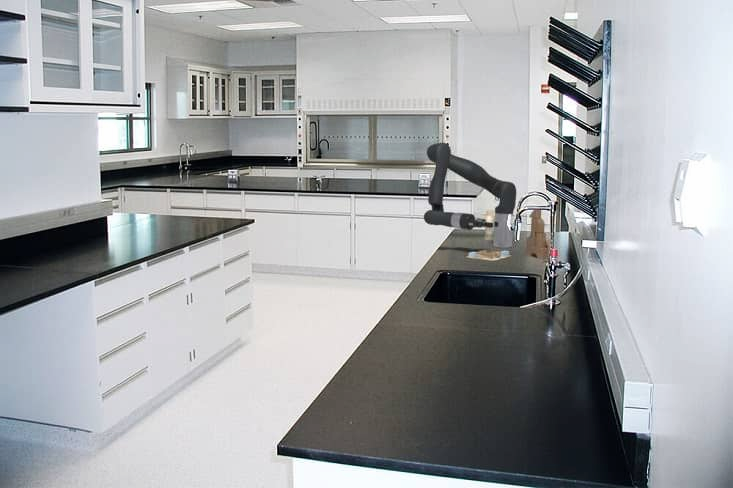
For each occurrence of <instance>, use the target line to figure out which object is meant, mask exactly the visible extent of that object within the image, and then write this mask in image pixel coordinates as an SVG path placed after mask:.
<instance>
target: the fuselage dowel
mask: <svg viewBox="0 0 733 488" xmlns="http://www.w3.org/2000/svg"><path fill="white" fill-rule="evenodd" d="M485 219H486V222H490V223H493V228H489V227H484V240H485V241H494V221H495V210H485Z"/></svg>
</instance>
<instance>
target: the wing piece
mask: <svg viewBox="0 0 733 488" xmlns="http://www.w3.org/2000/svg"><path fill="white" fill-rule="evenodd" d="M500 252H501V257H506V256H509V255H510V251H509V250H502V251H500ZM506 258H507V257H506Z"/></svg>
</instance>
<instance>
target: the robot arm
mask: <svg viewBox="0 0 733 488" xmlns="http://www.w3.org/2000/svg"><path fill="white" fill-rule="evenodd" d="M426 156H427V157H428V159H429V160H430V161H431V162H432V163H433V164H434V163H435V168H434V173H433V176H432V179H431V181H430V185H429V189H428V197H427V198H428V199H427V200H428V201H427V202H428V204H429V205H430V206H431V209H429V210H427V211H426V212H424V213H423V220H424V222H425V223H426V224H428V225H430V226H431V225H432V226H443V227H449V228H453V229H454V228H455V229H457V230H466V231H467V230H468V231H473V229H474V228H485V227H489V228H493V223H490V222H486V218H480V217H477V218H476V217H475V215H474V214H473V213H466V212H453V211H445V210H444V191H445V190H444V189H445V182H446V177H447V172H448V170H450V171H451V172H453V173H455V174H457V175H458V176H459V177H461V178H463V179H464V180H466V181H468V182H470V183H471V184H473V185H475V186H477V187H480V188H482V189H484V190H486V191H487V192H488V193H490V194H491V195H493V196H494V197H496V198H497V199H499V203H498V205H496V207H494V211H495V221H494V239H493V247H496V248H501V249H502V248H503V249H504V248H505V249H507V248H508V249H509V248H512V246H513V234H514V233H513V232H514V230H513V231H510V230H509V228H508V226H507V220H508V215H509V214H511V215H513V216H514V210H515V208H516V203H517V202H516V201H517V188H516V187H517V186H516V185H515V184H514V182H512V181H507V180H500V179H498V178H495V177H494V176H492V175H491V174H489V173H488V172H487V170H486V169H485V168H483V167H482V165H479V164H478V163H476V162H474V161H472V160H469V159H467V158H463V157H460V156H457V155H454V154H453V153H452V149H451V147H450V145H449V144H448V143H446V142H438V143H432V144H431V145H430V146H428V148H427V150H426Z"/></svg>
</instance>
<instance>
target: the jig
mask: <svg viewBox="0 0 733 488" xmlns="http://www.w3.org/2000/svg"><path fill="white" fill-rule="evenodd" d="M476 252H477V257H475V258H474V259H477V260H483V261H489V262H494V261H498V260H501V259H505V258H509V257H511V255H510V254H509V256H506V257H501V251H497V250H496V251H495V250H488V249H484V250H480V251H476ZM466 258H470V259H472V258H471V257H469V255H468V256H466Z"/></svg>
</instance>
